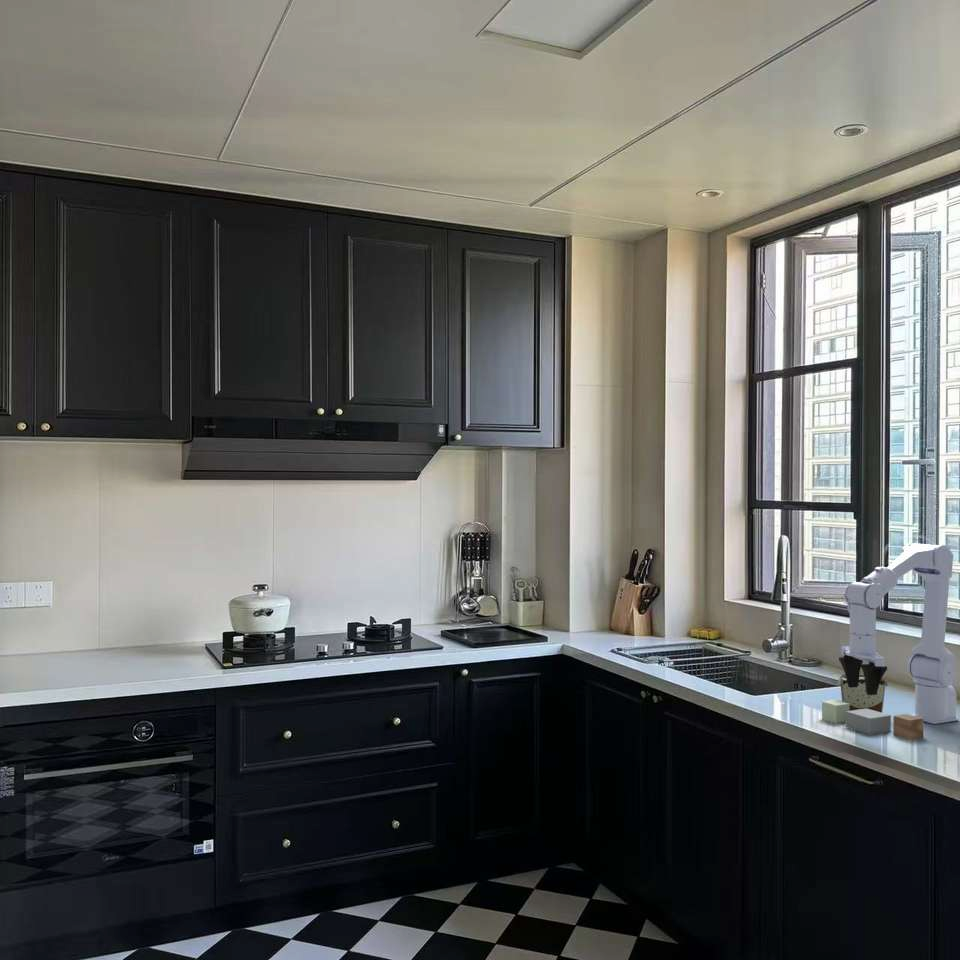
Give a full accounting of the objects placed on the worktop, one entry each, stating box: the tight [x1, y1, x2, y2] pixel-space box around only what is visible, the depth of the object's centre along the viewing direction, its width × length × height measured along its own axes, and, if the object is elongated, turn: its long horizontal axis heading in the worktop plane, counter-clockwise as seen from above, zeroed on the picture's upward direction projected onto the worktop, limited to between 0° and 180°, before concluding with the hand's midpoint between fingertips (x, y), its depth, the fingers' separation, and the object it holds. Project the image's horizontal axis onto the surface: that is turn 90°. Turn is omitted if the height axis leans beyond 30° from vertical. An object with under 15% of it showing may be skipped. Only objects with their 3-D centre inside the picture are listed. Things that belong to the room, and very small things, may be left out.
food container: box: [837, 672, 889, 713], centre depth 232 cm, size 12×6×10 cm, turn 92°
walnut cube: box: [892, 713, 924, 740], centre depth 213 cm, size 4×4×4 cm
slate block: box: [845, 708, 892, 735], centre depth 218 cm, size 7×7×4 cm
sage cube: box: [821, 699, 850, 724], centre depth 226 cm, size 4×4×4 cm
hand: (862, 690), depth 215 cm, fingers open, 7 cm apart
